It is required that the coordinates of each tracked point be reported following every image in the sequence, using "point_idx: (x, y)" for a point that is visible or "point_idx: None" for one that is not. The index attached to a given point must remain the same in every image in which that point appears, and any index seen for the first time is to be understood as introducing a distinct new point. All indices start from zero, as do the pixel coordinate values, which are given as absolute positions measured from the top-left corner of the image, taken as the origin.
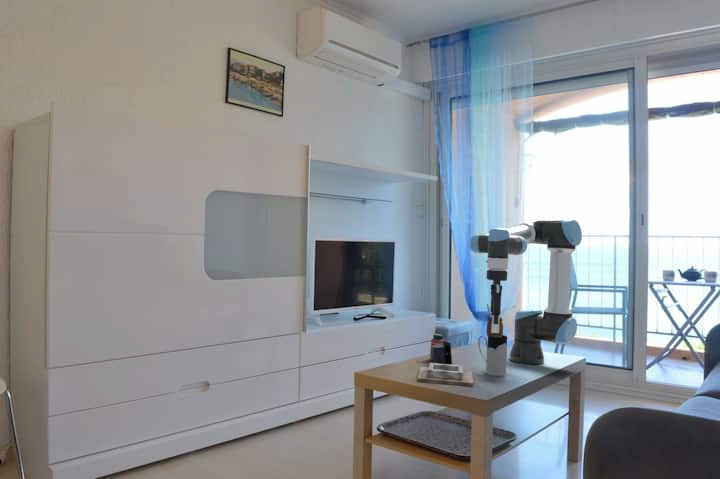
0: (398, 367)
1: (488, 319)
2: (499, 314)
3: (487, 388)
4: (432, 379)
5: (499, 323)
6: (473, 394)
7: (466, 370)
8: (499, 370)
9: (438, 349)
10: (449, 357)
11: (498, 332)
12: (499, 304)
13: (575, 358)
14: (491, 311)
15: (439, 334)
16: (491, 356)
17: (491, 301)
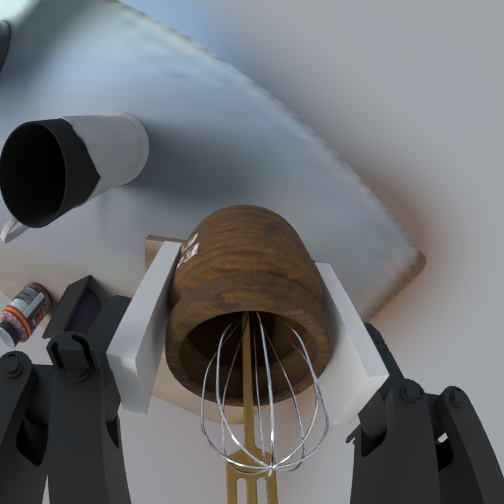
0: None
1: (255, 393)
2: (420, 388)
3: (328, 223)
4: None
5: (319, 301)
6: (380, 272)
7: (146, 253)
8: (138, 143)
9: None
10: (77, 297)
11: (329, 269)
12: (489, 473)
13: None
14: (118, 417)
15: (3, 335)
16: (110, 184)
17: (40, 501)
